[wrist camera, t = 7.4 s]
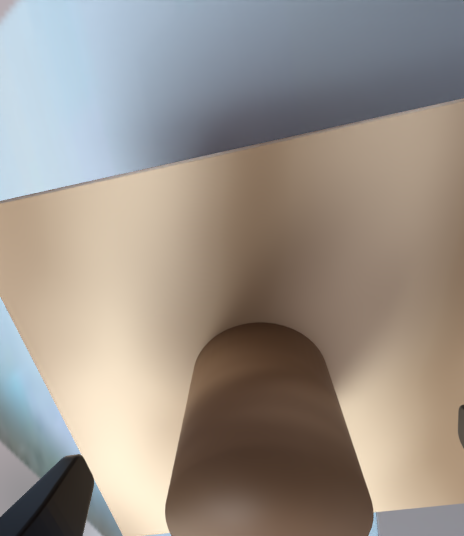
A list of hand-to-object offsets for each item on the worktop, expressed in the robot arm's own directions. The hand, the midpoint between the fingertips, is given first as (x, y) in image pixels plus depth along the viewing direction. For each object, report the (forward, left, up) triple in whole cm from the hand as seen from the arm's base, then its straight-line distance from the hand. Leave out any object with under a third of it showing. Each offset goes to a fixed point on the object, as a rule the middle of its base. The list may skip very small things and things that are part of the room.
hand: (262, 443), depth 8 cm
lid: (0, 0, -3) cm, 3 cm away
